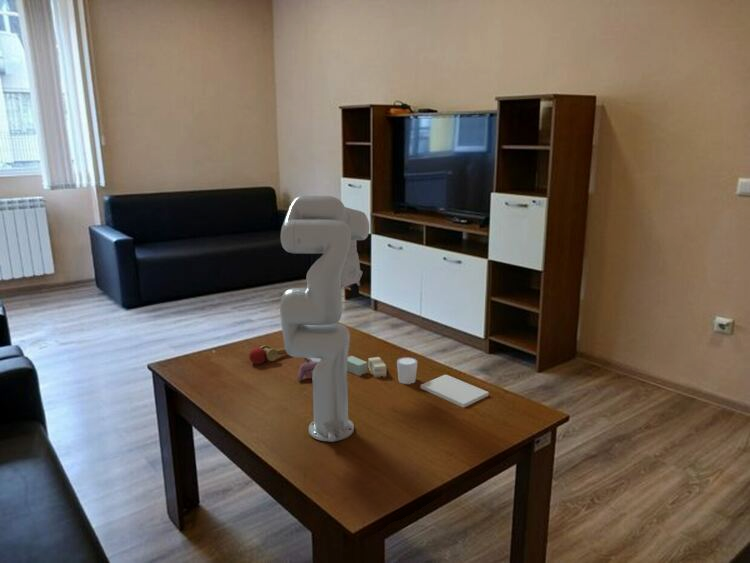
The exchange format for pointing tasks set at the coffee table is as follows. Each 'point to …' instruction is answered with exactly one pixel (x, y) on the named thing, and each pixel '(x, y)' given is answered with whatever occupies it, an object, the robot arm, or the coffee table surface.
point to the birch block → (377, 366)
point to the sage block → (356, 365)
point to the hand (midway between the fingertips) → (346, 300)
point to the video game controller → (306, 370)
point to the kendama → (265, 354)
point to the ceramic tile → (454, 390)
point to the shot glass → (407, 370)
